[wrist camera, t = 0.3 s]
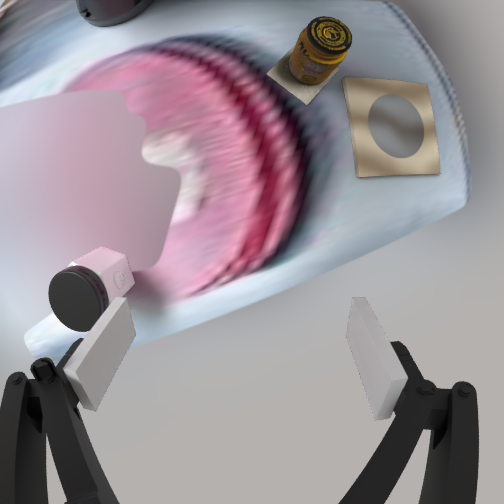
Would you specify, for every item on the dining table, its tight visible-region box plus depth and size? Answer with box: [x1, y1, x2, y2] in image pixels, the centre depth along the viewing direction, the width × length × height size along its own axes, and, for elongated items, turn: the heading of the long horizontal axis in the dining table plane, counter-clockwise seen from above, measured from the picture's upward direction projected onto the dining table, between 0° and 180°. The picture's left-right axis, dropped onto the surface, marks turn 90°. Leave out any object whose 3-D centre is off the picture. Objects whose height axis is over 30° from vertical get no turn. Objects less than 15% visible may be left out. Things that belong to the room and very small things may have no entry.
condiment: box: [267, 16, 352, 105], centre depth 31 cm, size 7×8×12 cm
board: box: [342, 77, 441, 177], centre depth 38 cm, size 15×15×1 cm
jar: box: [49, 247, 135, 332], centre depth 37 cm, size 9×8×12 cm
